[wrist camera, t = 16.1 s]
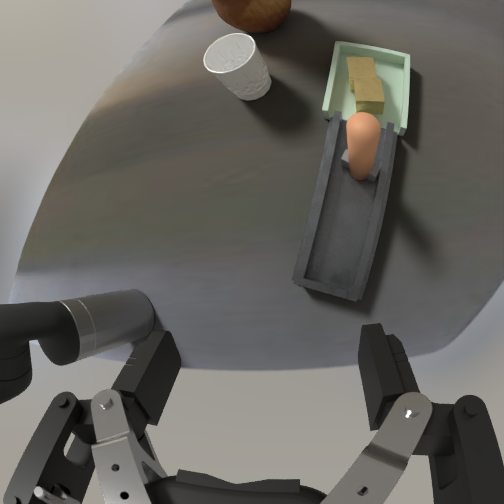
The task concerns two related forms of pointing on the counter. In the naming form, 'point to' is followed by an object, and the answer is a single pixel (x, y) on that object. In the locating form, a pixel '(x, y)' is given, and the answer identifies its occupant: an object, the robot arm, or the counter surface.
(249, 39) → the white cup
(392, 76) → the tray
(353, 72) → the chip
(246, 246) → the counter surface
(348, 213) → the rail
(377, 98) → the golden cube
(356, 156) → the peach rounded peg
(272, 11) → the butternut squash
